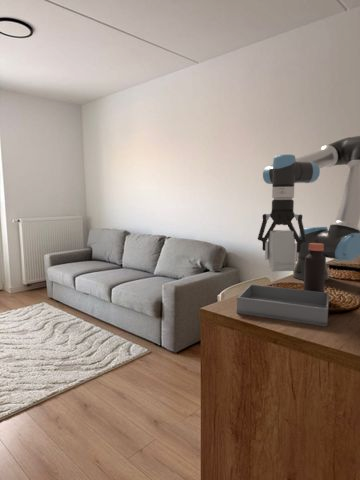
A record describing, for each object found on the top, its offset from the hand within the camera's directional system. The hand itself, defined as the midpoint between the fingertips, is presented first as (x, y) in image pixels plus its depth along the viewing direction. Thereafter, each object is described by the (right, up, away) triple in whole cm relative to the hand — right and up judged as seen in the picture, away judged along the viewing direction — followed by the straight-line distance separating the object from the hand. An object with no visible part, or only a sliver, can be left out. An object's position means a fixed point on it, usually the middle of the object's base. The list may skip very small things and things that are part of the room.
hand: (280, 260), depth 123 cm
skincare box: (0, -4, +1) cm, 4 cm away
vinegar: (+11, -14, -3) cm, 18 cm away
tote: (-4, -15, -15) cm, 22 cm away
